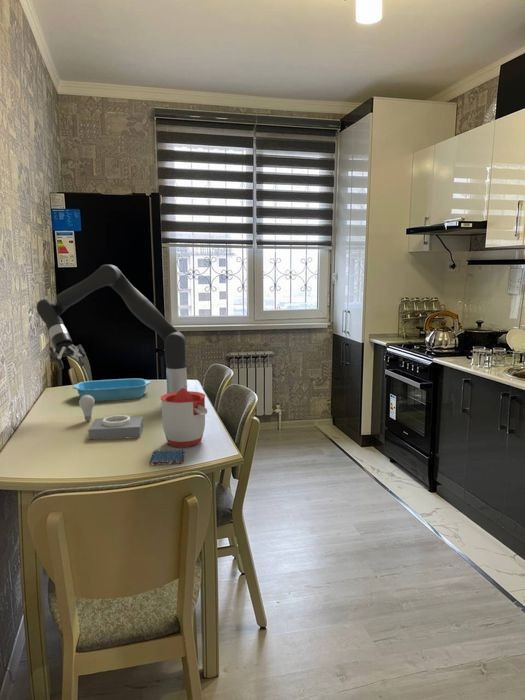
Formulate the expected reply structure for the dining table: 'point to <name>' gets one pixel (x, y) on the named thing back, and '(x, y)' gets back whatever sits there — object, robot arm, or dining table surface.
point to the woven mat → (167, 456)
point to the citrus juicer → (183, 417)
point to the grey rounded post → (87, 406)
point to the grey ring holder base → (116, 427)
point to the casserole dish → (112, 389)
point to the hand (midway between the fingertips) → (72, 366)
